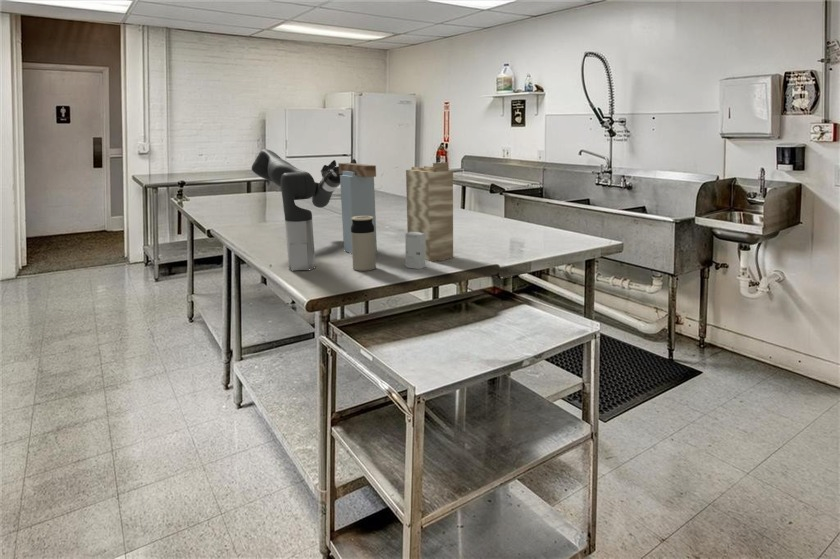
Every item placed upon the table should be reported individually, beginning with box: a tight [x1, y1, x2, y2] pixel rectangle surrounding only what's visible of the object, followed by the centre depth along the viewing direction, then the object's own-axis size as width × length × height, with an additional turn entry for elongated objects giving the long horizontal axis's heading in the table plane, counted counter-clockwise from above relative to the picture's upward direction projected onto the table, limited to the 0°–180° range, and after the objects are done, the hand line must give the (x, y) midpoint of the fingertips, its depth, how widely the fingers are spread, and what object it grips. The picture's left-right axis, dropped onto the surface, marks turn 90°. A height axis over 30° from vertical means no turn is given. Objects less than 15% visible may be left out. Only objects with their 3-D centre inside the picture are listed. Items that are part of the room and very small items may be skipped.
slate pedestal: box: [339, 171, 378, 255], centre depth 217 cm, size 9×10×32 cm
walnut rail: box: [337, 162, 377, 178], centre depth 213 cm, size 24×4×4 cm, turn 33°
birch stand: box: [405, 161, 454, 262], centre depth 207 cm, size 16×10×35 cm, turn 33°
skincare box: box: [405, 232, 426, 270], centre depth 194 cm, size 6×4×12 cm
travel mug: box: [351, 216, 377, 272], centre depth 192 cm, size 8×8×18 cm
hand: (345, 161), depth 221 cm, fingers open, 8 cm apart
